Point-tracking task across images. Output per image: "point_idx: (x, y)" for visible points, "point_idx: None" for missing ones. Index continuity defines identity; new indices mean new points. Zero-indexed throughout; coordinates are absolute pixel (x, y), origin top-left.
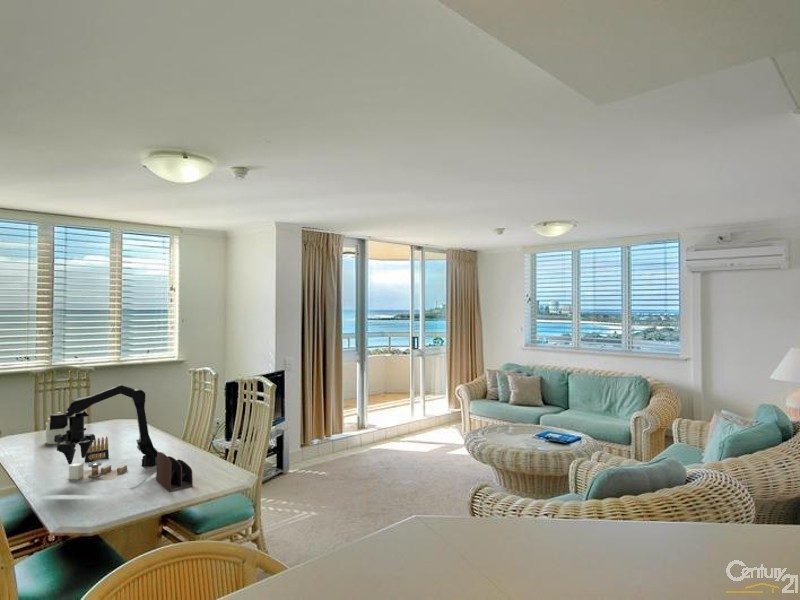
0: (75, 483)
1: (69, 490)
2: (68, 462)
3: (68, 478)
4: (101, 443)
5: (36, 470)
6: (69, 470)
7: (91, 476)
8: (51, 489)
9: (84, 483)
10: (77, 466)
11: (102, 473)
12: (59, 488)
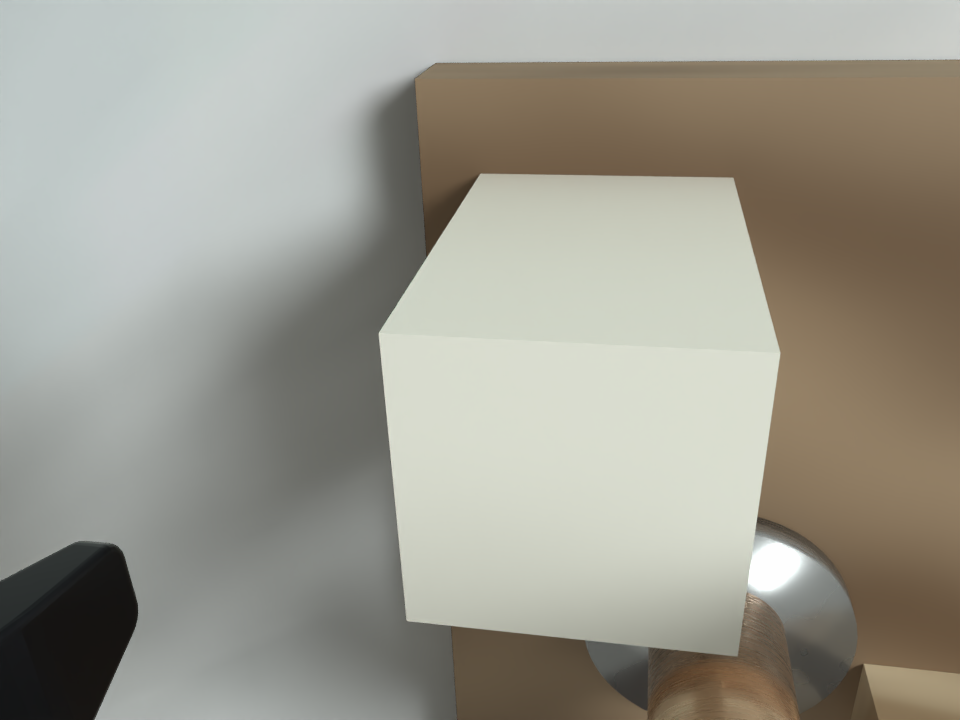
0: None
1: (97, 428)
2: (8, 602)
3: (550, 109)
4: None
5: None
6: (422, 277)
7: None
8: (48, 27)
9: None
10: (413, 595)
11: (859, 693)
12: (137, 174)
